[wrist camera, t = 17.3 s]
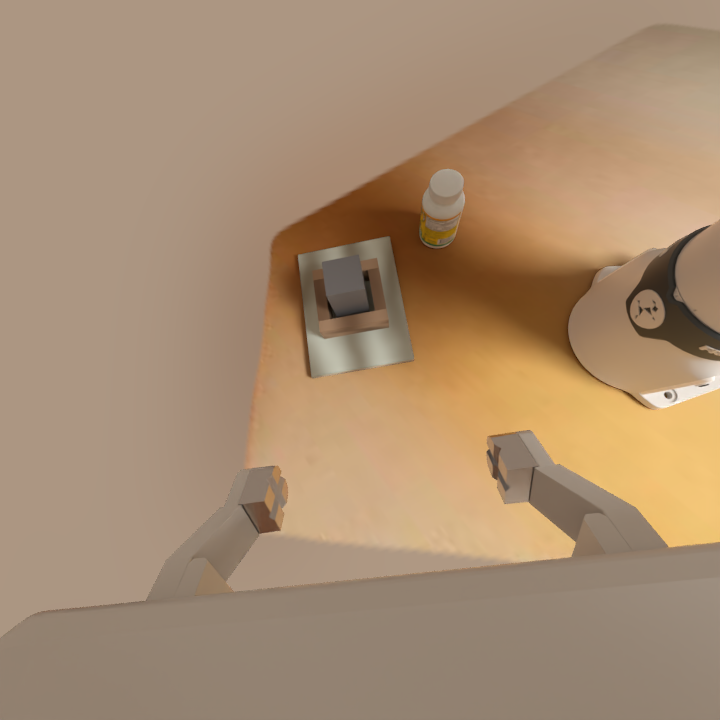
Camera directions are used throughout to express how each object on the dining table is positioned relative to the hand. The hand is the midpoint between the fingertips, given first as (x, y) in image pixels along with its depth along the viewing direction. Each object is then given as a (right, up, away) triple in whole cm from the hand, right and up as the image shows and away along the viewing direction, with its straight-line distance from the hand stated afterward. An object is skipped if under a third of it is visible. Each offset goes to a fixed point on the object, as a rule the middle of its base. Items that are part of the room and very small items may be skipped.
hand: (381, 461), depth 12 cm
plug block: (-2, +12, +32) cm, 34 cm away
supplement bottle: (+11, +23, +34) cm, 42 cm away
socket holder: (-2, +12, +33) cm, 35 cm away
